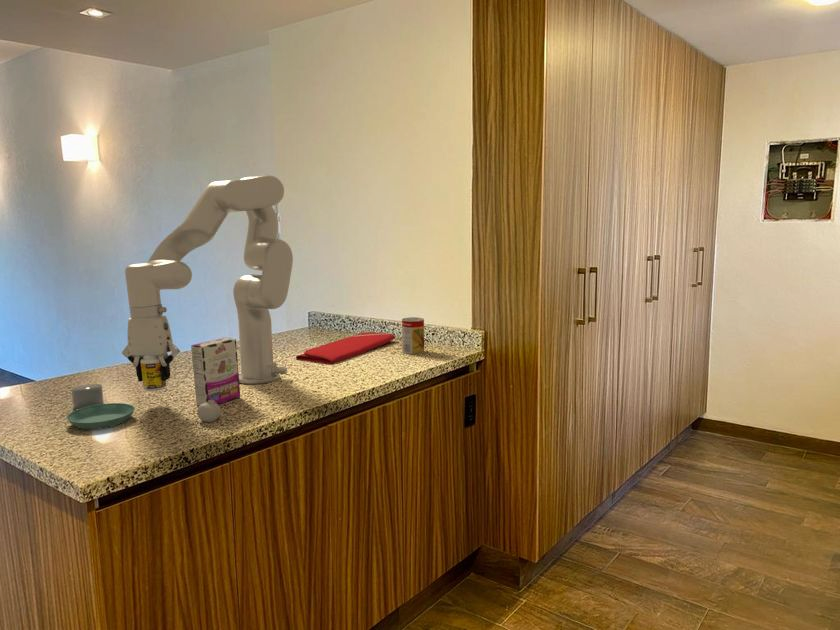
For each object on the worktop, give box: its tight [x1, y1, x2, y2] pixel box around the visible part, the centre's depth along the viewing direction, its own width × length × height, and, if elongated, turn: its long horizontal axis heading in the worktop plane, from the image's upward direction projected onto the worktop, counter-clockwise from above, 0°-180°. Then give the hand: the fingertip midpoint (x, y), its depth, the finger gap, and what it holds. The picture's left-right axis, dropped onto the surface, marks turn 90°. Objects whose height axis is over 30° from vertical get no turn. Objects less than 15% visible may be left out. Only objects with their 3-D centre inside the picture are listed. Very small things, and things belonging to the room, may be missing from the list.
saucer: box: [66, 402, 136, 430], centre depth 149 cm, size 15×15×3 cm
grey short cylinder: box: [71, 383, 105, 410], centre depth 162 cm, size 7×7×5 cm
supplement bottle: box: [140, 355, 167, 392], centre depth 161 cm, size 6×6×10 cm
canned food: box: [401, 316, 425, 355], centre depth 220 cm, size 8×8×12 cm
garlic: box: [196, 400, 222, 423], centre depth 149 cm, size 6×5×5 cm
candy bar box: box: [190, 337, 241, 407], centre depth 163 cm, size 11×5×16 cm, turn 148°
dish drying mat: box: [295, 331, 396, 365], centre depth 225 cm, size 16×41×4 cm, turn 151°
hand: (154, 379), depth 161 cm, fingers closed on supplement bottle, 5 cm apart
